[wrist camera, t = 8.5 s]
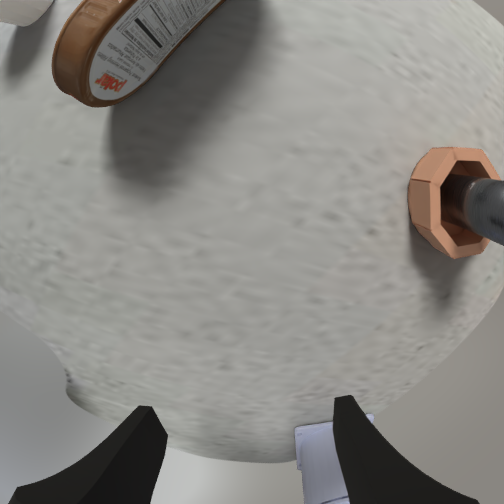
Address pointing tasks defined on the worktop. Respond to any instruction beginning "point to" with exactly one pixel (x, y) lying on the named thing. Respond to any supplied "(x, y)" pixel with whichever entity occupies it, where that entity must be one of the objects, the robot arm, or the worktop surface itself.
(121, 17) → the tin
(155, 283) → the worktop surface
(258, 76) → the worktop surface
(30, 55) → the worktop surface
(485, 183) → the cell
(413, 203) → the cup
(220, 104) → the worktop surface
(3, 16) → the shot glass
